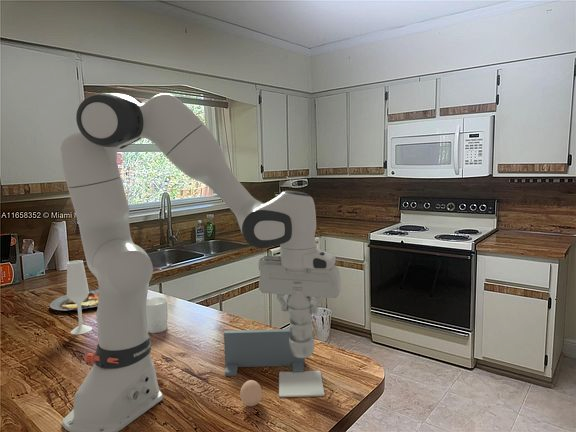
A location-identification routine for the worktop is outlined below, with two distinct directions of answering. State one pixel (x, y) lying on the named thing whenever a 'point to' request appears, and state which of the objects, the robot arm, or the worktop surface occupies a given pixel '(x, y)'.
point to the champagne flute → (77, 291)
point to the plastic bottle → (300, 323)
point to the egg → (251, 393)
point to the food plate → (70, 305)
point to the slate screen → (259, 350)
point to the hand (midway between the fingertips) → (299, 311)
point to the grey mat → (300, 384)
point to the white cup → (156, 314)
